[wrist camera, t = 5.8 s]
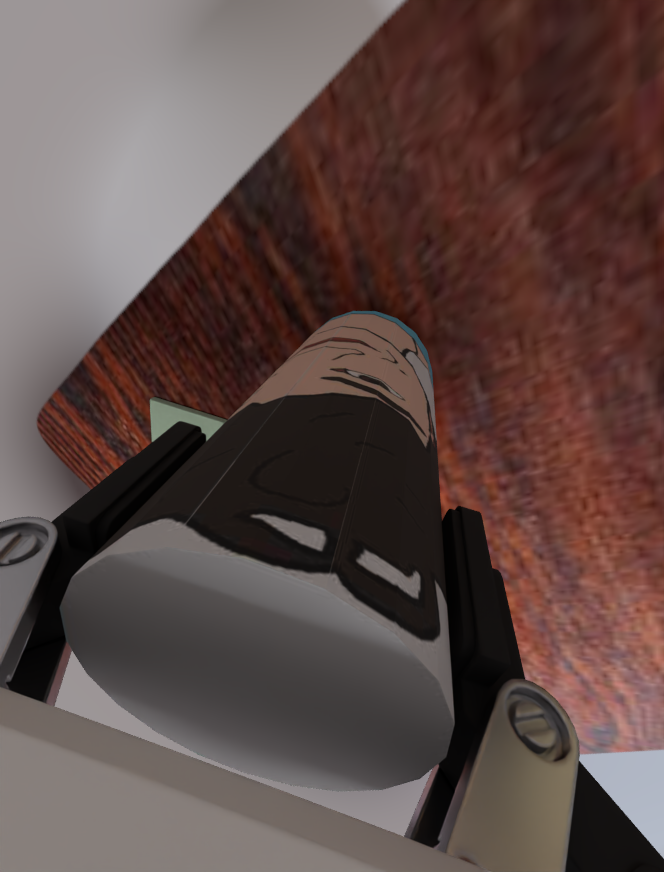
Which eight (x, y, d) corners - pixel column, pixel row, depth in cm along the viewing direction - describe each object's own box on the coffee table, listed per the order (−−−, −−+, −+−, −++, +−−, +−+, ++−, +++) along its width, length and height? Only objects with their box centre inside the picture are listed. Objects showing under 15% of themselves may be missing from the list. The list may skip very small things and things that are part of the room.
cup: (448, 323, 17) (530, 633, 4) (414, 447, 20) (400, 824, 8) (305, 299, 18) (2, 496, 5) (295, 422, 21) (102, 726, 8)
